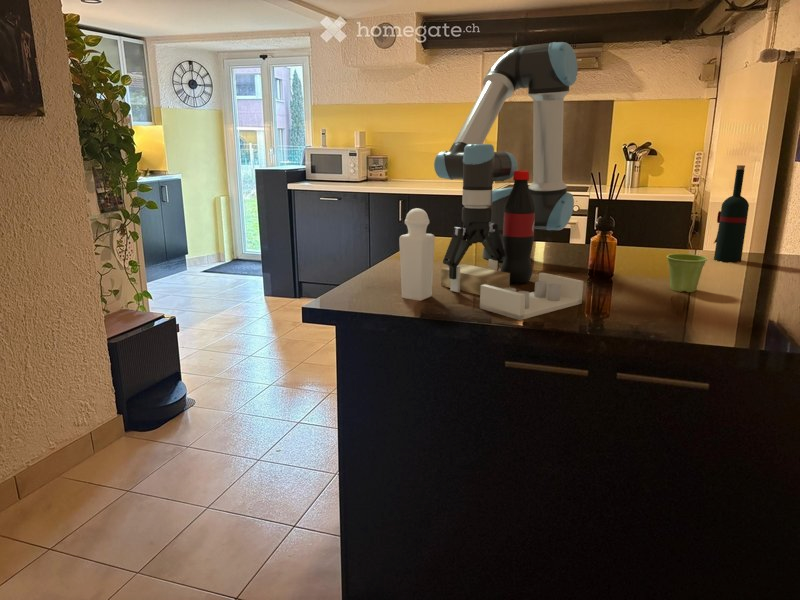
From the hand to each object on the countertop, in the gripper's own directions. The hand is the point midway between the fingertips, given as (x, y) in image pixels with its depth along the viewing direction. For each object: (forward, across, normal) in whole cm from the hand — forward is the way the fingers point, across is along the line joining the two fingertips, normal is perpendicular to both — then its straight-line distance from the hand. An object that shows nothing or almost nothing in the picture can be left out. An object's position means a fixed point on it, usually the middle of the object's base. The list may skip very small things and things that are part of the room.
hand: (474, 287), depth 154 cm
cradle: (0, +2, +21) cm, 21 cm away
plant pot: (0, -41, +35) cm, 54 cm away
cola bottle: (0, -14, +2) cm, 14 cm away
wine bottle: (0, -91, +23) cm, 94 cm away
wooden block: (0, 0, 0) cm, 1 cm away
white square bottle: (0, +18, -2) cm, 18 cm away
